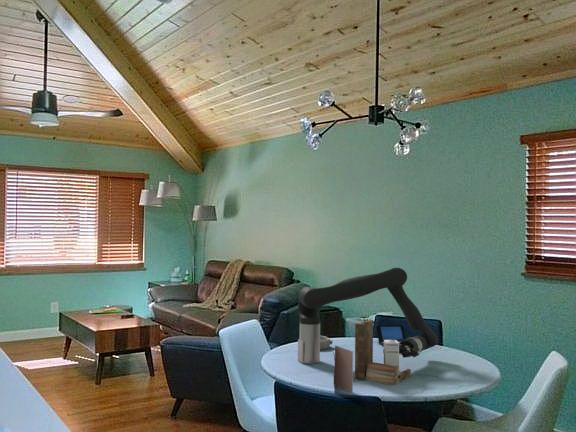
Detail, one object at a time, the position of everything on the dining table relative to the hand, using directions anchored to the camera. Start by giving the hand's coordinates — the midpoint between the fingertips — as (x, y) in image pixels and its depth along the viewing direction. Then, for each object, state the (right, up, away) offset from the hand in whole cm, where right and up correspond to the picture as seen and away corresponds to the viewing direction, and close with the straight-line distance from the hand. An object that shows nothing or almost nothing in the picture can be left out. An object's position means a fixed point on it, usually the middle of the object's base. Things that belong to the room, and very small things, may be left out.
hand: (393, 353), depth 222 cm
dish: (-29, -10, +50) cm, 59 cm away
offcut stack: (-6, -9, -8) cm, 13 cm away
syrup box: (-2, -9, -2) cm, 10 cm away
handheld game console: (+12, -11, +59) cm, 61 cm away
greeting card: (-23, -9, -20) cm, 32 cm away
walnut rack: (-5, -9, -4) cm, 11 cm away
